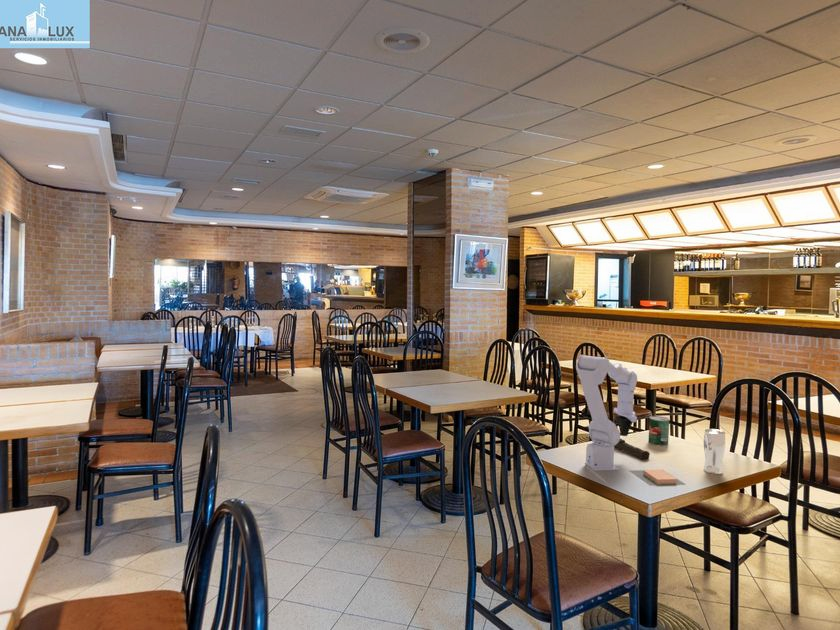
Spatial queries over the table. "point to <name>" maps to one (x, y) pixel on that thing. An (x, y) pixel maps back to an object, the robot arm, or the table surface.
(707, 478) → the table surface
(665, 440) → the canned tomato
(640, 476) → the mat
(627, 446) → the hand tool
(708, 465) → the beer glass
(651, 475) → the tile
